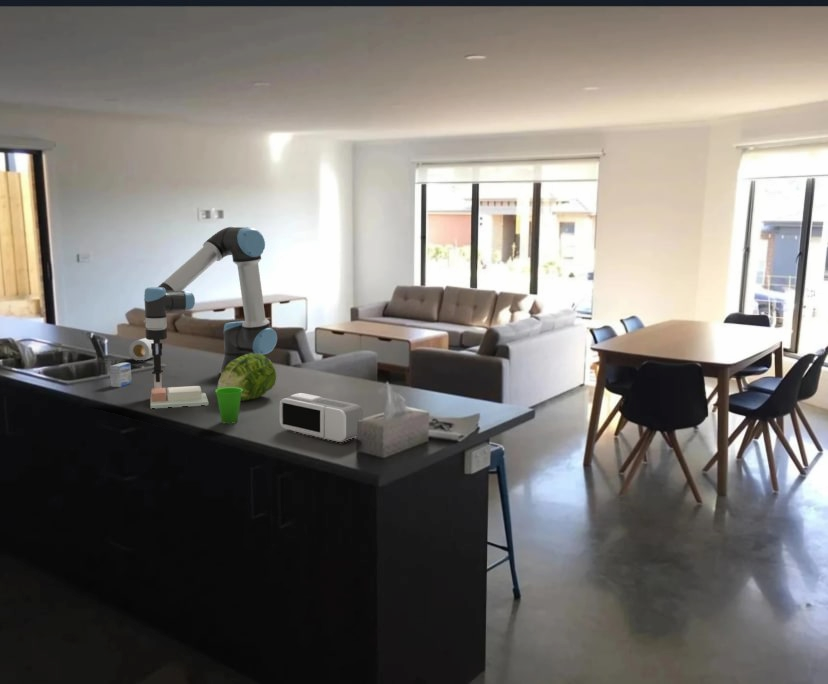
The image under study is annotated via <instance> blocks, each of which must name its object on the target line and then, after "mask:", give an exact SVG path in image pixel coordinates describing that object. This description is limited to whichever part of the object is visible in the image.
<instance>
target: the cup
mask: <svg viewBox="0 0 828 684" xmlns="http://www.w3.org/2000/svg"><path fill="white" fill-rule="evenodd" d="M242 391H243V389H241V388H237V387H224V388H219V389H218V388H216V389H215V391H214V392H215V393H216V398H217V399H216V400H217V404H218V409H219V413H220V421H221V423H222V422H225V423H232V422H236V421H237V422H238V420H239V414H240V413H239V412H240V405H241V401H240V400H241V393H242ZM237 422H236V423H237ZM225 423H224V424H225ZM232 424H233V423H232Z"/></svg>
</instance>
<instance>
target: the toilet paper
mask: <svg viewBox="0 0 828 684" xmlns="http://www.w3.org/2000/svg"><path fill="white" fill-rule="evenodd" d="M151 343H154V341H153V340H148V339H146V337H144V338H140V339H138V340H135V341H133V342H131V344H130V345H129V350H128V351H129V355H130V357H131V358H132V359H133V360H135V361H137V360H143V361H142V362H144V361H146V360H149V359H151V358H154V356H152V349H151Z"/></svg>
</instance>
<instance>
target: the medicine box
mask: <svg viewBox="0 0 828 684" xmlns="http://www.w3.org/2000/svg"><path fill="white" fill-rule="evenodd" d="M131 366H132V365H131V363H130V362H119V363H116V364H114V365H113V364H112V365H110V366H109V371H110V372H109V376H110V377H109V378H110V387H112V388H122V387H125V386H127V385H131V384H132V369H131V368H132V367H131Z"/></svg>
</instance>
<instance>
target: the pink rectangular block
mask: <svg viewBox="0 0 828 684" xmlns="http://www.w3.org/2000/svg"><path fill="white" fill-rule="evenodd" d="M166 395H167V387H162V388H154V387H152V388H151V396H152V402H157V401H166Z"/></svg>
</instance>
